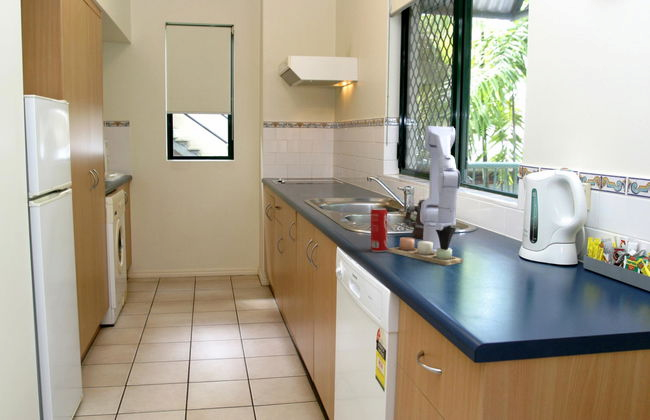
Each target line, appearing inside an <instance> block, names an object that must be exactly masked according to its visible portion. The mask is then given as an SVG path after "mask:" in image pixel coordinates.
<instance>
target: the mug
mask: <svg viewBox="0 0 650 420" xmlns="http://www.w3.org/2000/svg"><path fill="white" fill-rule="evenodd" d="M424 200H425V199H419V201H418V204H417V205H416V206H415V205H414V204H413V205H410V206H408V207H407V208H406V210H405V211H406V213H405V217H404V218H403V221H404V222H403V223H404V224H405V225H406V226H407V228H408V227H409V228H413V230H412V232H411V233H412V234H411V235H412V238H414V239H419V240H423V232H424V224H423V223H422V222H421V221H420V210H421V204H422V202H423V201H424ZM428 207H438V206H428ZM414 212H415V213H416V218H415V221H414V222H413V221H412V220H411V216H412V214H413V213H414Z"/></svg>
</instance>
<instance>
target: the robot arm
mask: <svg viewBox="0 0 650 420" xmlns="http://www.w3.org/2000/svg"><path fill="white" fill-rule="evenodd" d="M455 139H456V128H454V126H438V125H437V126H435V125H427V126H426V127H425V132H424V148H425V149H424V150H426V151H427V152H429V153H428V154H429V158H430V159H429V160H430V161H429V162H430V163H429V189H428V190H429V193H428V194H429V195H428V197H427V198H425V199H423V200H424V201H423V202H422V204H421V210H420V221H421V222H422V223H423V224H424V232H423V239H422V241H429V242H433V251H432V252H435V253H436V250H437V248H441V249H444V250H447V249H448V248H449V249H451V247H450V244H451V242H452V238H453V236H454V234H455V232H456V230H457V228H456V227H453V226H456V225H457V219H456V213H457V202H458V190H459V188H460V185H461V172H460V170H459V169H457V166H456V160H455V157H454V156H453V155H452V154H451V149H452V147H453V145H454V143H455ZM428 206H438V207H428ZM417 249H418V246H417Z"/></svg>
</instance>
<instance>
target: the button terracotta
mask: <svg viewBox="0 0 650 420" xmlns="http://www.w3.org/2000/svg"><path fill="white" fill-rule="evenodd" d="M415 241H416V238H415V237H405V236H404V237H403V236H402V237H399V247H400V249H403V250H414V248H415Z"/></svg>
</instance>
